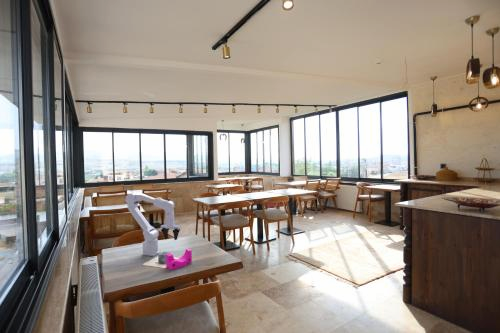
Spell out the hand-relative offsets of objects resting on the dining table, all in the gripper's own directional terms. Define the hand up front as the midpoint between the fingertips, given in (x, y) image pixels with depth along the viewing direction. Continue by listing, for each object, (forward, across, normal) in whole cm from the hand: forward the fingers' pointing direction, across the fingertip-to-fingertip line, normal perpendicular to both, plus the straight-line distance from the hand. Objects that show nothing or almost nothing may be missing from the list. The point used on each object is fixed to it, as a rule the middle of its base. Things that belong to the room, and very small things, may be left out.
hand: (171, 239), depth 186 cm
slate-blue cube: (+10, +4, -13) cm, 17 cm away
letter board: (+10, +2, -13) cm, 17 cm away
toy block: (+11, +17, -14) cm, 24 cm away
